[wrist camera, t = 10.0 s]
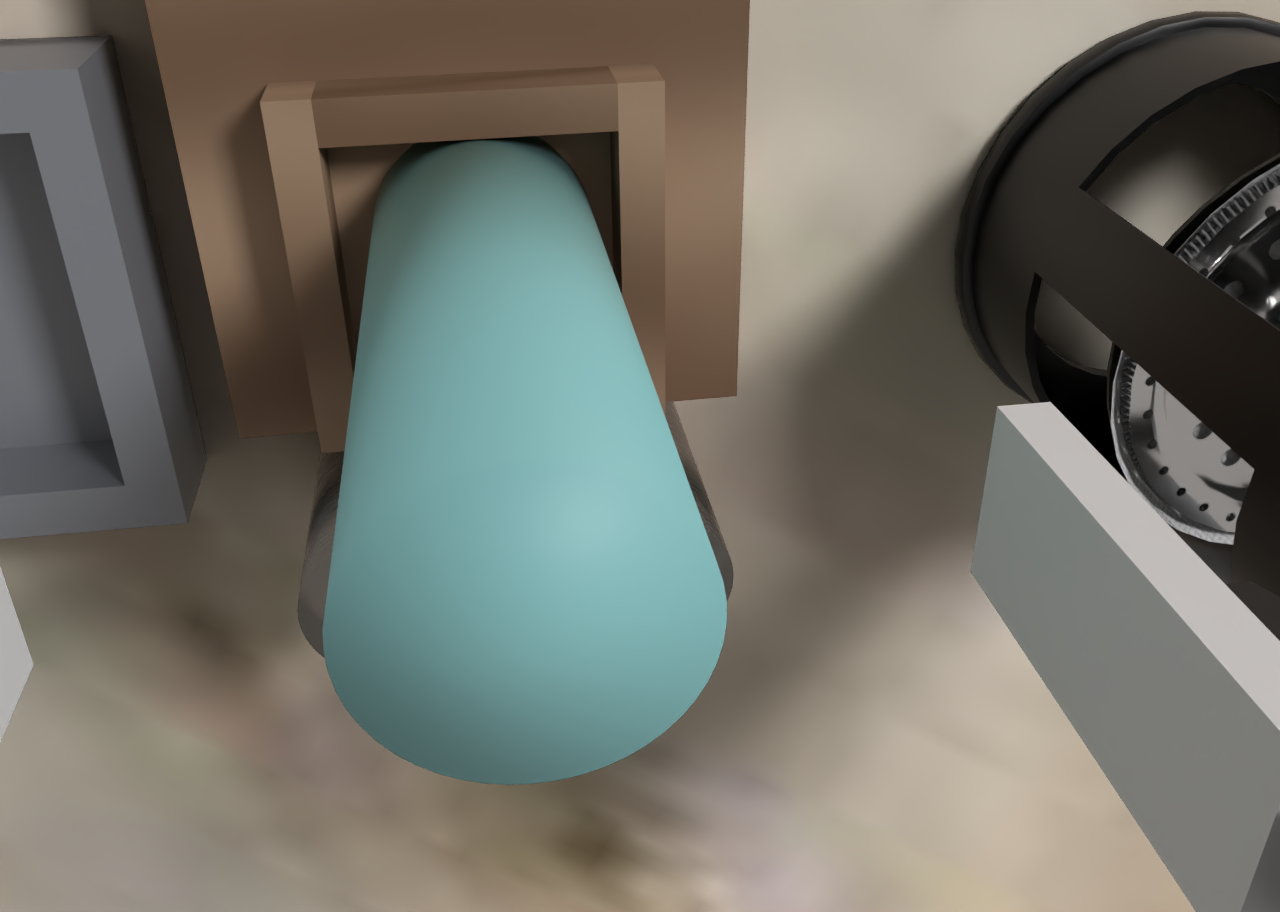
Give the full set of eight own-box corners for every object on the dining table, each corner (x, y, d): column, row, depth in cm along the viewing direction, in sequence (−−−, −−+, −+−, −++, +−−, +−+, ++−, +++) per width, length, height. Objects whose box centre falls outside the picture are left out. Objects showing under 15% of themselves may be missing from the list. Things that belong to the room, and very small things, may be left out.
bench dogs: (313, 390, 26) (285, 551, 21) (678, 364, 27) (736, 512, 22) (332, 506, 28) (311, 682, 23) (676, 477, 29) (730, 639, 24)
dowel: (363, 123, 21) (299, 472, 11) (592, 120, 22) (740, 451, 11) (382, 334, 23) (343, 800, 13) (590, 326, 24) (715, 766, 13)
